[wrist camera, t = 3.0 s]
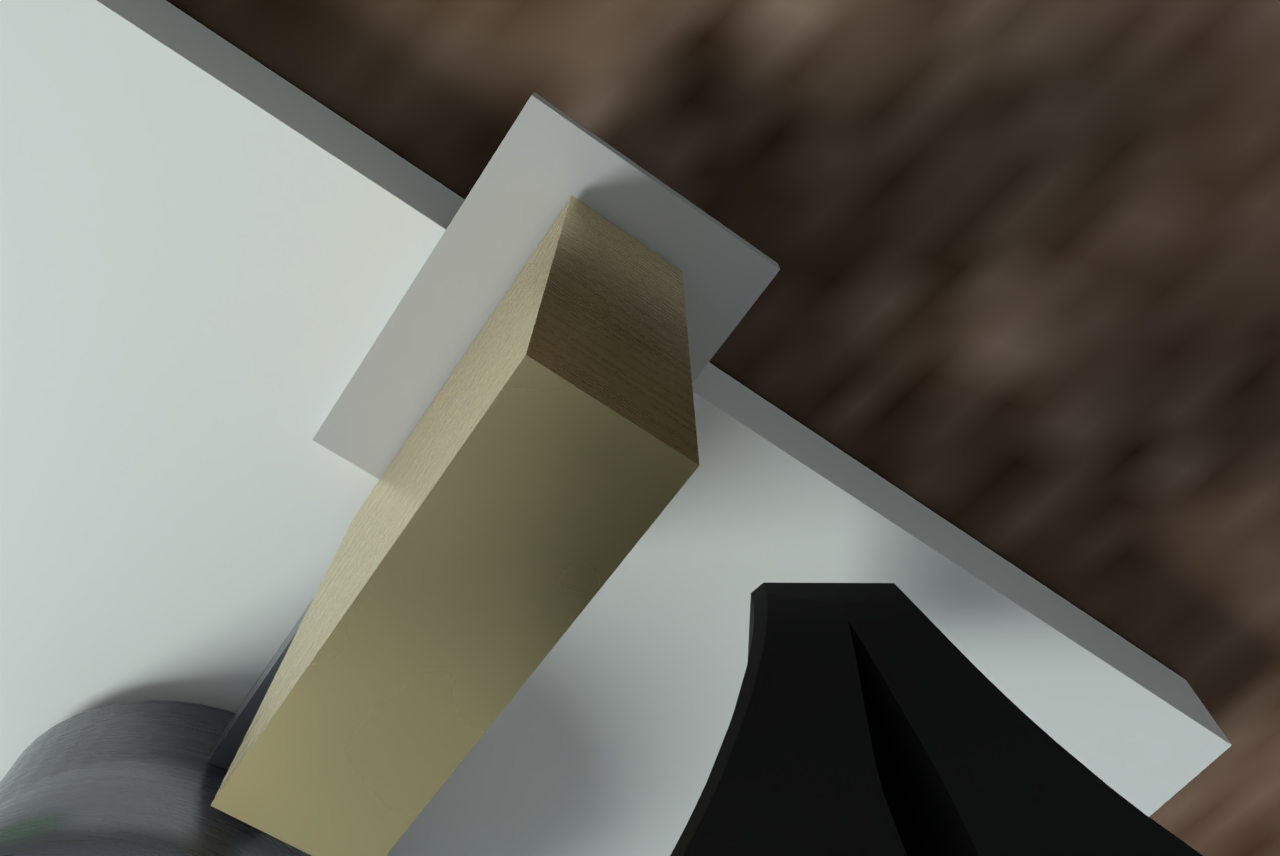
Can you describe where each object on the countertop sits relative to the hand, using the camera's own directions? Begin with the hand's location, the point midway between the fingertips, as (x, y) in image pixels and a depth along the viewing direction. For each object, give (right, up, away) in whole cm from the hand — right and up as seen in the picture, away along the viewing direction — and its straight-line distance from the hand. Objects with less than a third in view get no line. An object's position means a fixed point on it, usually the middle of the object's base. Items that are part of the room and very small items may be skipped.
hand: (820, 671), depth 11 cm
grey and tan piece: (-5, 0, +1) cm, 5 cm away
